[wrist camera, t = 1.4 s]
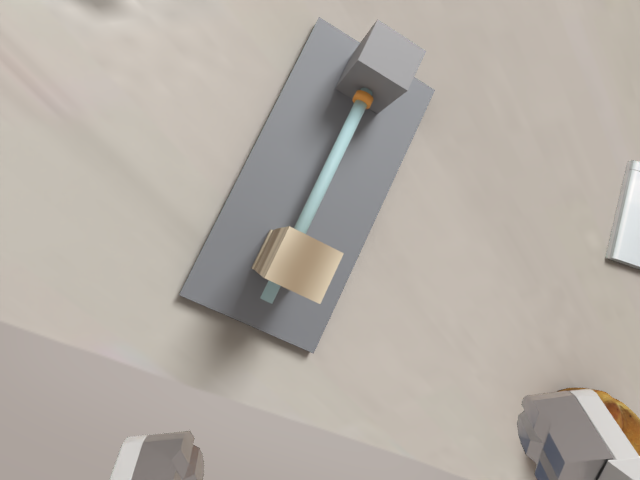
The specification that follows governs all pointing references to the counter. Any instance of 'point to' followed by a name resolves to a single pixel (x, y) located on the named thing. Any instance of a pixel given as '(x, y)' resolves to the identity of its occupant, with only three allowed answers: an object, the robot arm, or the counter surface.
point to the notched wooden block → (297, 262)
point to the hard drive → (627, 220)
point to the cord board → (315, 176)
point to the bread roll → (620, 417)
